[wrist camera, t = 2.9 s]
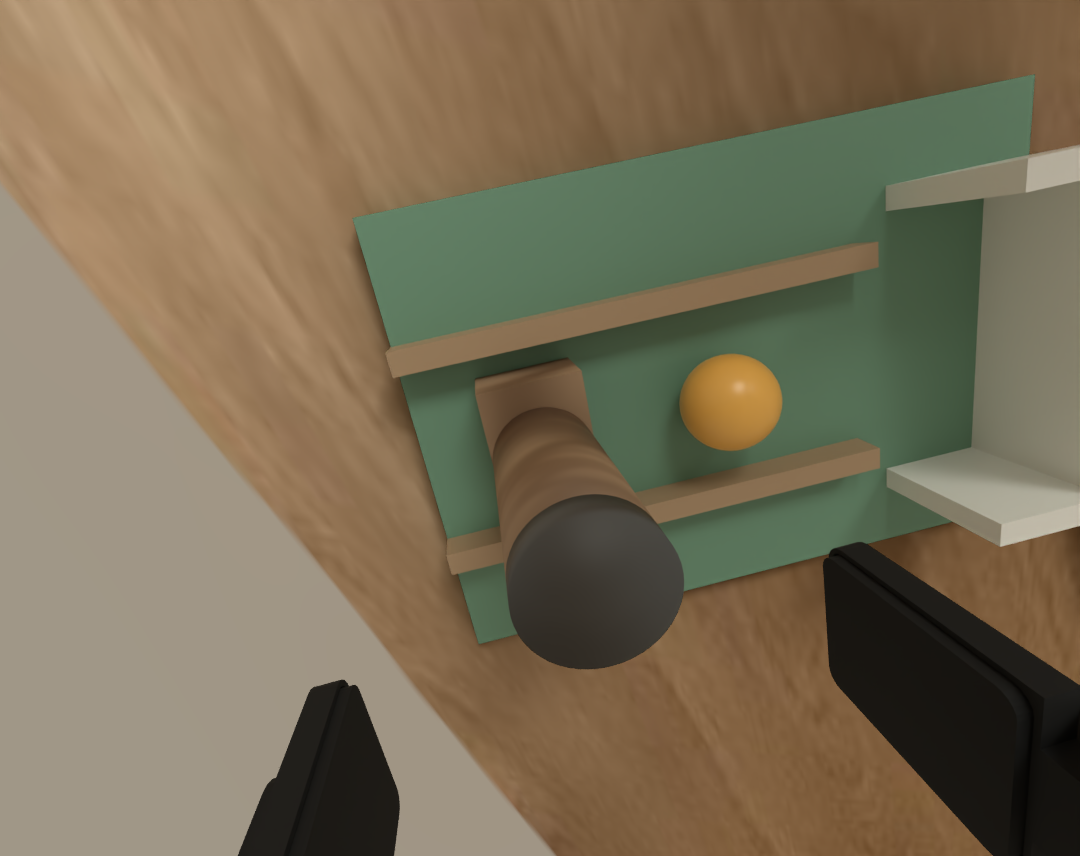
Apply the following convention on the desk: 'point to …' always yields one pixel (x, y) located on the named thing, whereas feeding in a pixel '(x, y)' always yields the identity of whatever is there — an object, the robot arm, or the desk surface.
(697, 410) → the ball
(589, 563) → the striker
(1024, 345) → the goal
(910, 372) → the pitch
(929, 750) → the robot arm
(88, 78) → the desk surface
